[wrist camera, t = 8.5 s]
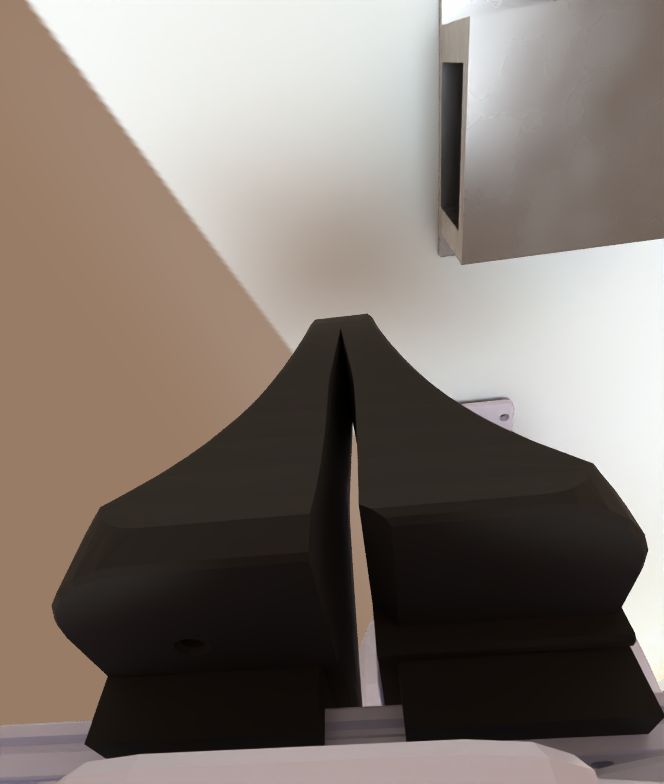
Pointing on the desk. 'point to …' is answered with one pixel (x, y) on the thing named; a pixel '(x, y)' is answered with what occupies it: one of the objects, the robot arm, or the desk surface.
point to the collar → (549, 126)
